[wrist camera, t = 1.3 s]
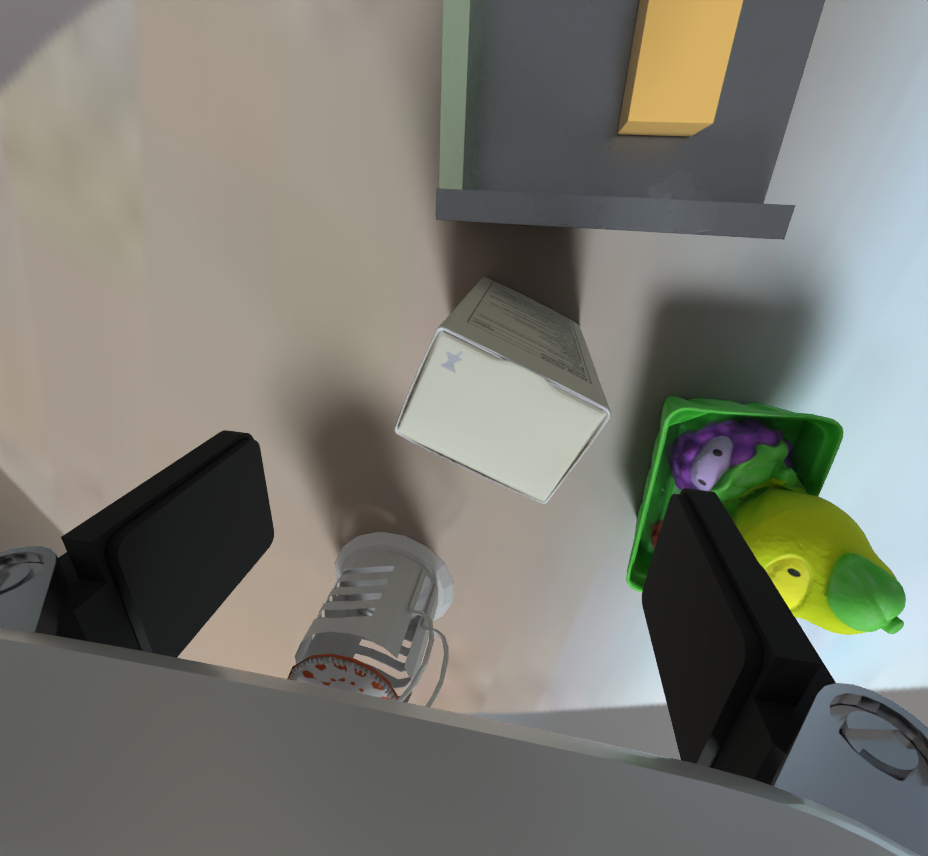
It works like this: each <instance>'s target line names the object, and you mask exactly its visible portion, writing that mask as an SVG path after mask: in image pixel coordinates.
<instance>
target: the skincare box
mask: <svg viewBox="0 0 928 856" xmlns="http://www.w3.org/2000/svg"><path fill="white" fill-rule="evenodd" d="M610 417H611V412H610V409H609V406H608V403H607V401H606V398H605V395H604V393H603V390H602V387H601V384H600V381H599V379H598V376H597V373H596V370H595V367H594V365H593V362H592V359H591V356H590V354H589V351H588V348H587V345H586V343H585V340H584V337H583V335H582V332H581V329H580V326H579V325H578V324H577V323H575V322H574V321H572V320H570V319H568V318H567V317H565V316H563V315H561V314H559V313H557V312H556V311H554V310H552V309H550V308H548V307H546V306H544V305H542V304H540V303H538V302H536V301H534V300H532V299H530V298H528V297H526V296H524V295H522V294H520V293H518V292H516V291H514V290H512V289H510V288H508V287H506V286H504V285H502V284H499V283H497V282H495V281H493V280H491V279H489V278H486V277H482V278H481V279H480V280H479V282H478V283H477V284H476V285H475V286H474V287H473V289H472V290H471V291H470V292H469V293H468V294H467V295H466V296H465V298H464V299H463V300H462V301H461V302H460V303H459V305H458V306H457V307H456V308H455V309H454V310H453V311H452V313H451V314H450V315H449V316H448V317H447V318H446V320H445V321H444V322H443V323H442V324H441V325H440V326H439V327H438V329H437V331H436V333H435V335H434V337H433V339H432V341H431V344H430V346H429V348H428V350H427V352H426V354H425V356H424V358H423V361H422V363H421V365H420V368H419V370H418V372H417V374H416V376H415V379H414V381H413V383H412V385H411V388H410V390H409V392H408V395H407V397H406V400H405V402H404V405H403V407H402V410H401V412H400V415H399V418H398V421H397V423H396V425H395V432H396V433H397V434H398V435H400V436H402V437H404V438H406V439H407V440H409V441H410V442H412V443H414V444H416V445H418V446H420V447H422V448H424V449H426V450H428V451H430V452H432V453H434V454H436V455H438V456H439V457H441V458H444V459H446V460H448V461H450V462H452V463H454V464H456V465H459V466H460V467H462V468H464V469H467V470H469V471H471V472H473V473H475V474H477V475H479V476H482V477H484V478H486V479H488V480H490V481H492V482H495V483H497V484H499V485H501V486H503V487H505V488H508V489H510V490H512V491H515V492H517V493H519V494H521V495H524V496H526V497H528V498H531V499H533V500H535V501H537V502H539V503H542V504H545V503H547V502H548V501H549V500H550V498H551V497H552V495H553V494H554V493H555V491H556V490H557V489H558V488H559V486H560V485H561V484H562V483H563V481H564V480H565V479H566V477H567V476H568V475H569V474H570V472H571V471H572V470H573V469H574V467H575V466H576V464H577V463H578V462H579V460H580V459H581V457H582V456H583V455H584V453H585V452H586V451H587V450H588V448H589V447H590V446H591V444H592V443H593V441H594V440H595V439H596V437H597V436H598V434H599V433H600V432H601V430H602V429H603V427H604V426H605V425H606V423H607V422H608V420H609V419H610Z"/></svg>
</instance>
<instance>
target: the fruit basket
mask: <svg viewBox="0 0 928 856" xmlns="http://www.w3.org/2000/svg"><path fill="white" fill-rule="evenodd" d="M842 438H843V428H842V426H841V425H840V424H839V423H838V422H836V421H835V420H833V419H831V418H826V417H822V416H818V415H813V414H805V413H795V412H791V411H787V410H783V409H780V408H776V407H772V406H769V405H765V404H761V403H748V404H743V405H742V404H740V403H737V402H734V401H728V400H716V399H704V398H695V399H689V400H685V399H682V398H680V397H677V396H669V397H667V398H666V399H665V402H664V406H663V410H662V414H661V419H660V431H659V433H658V434H657V437H656V440H655V444H654V449H653V453H652V462H651V468H650V470H649V472H648V475H647V479H646V484H645V488H644V494H643V502H642V504H641V505H640V509H639V513H638V517H637V523H636V531H635V539H634V543H633V547H632V551H631V556H630V560H629V565H628V570H627V577H626V580H627V583H628V585H629V586H630V587H631V588H632V589H634V590H636V591H639V592H642V591H643V586H644V583H645V580H646V576H647V573H648V570H649V566H650V563H651V560H652V556H653V553H654V550H655V546H656V543H657V540H658V536H659V533H660V530H661V526H662V523H663V520H664V516H665V513H666V510H667V506H668V503H669V500H670V497H671V496H672V494H680V492H681V491H682V489H684V488H688V489H696V490H704V491H712V492H715V493H716V494H717V496H718V497H719V499H720V501H721V502H722V504H723V505H724V507H725V509H726V510H727V512H728V514H729V515H730V517H731V518H732V520H733V522H734V523H735V525H736V526H737V528H738V530H739V531H740V533H741V535H742V536H743V538H744V539H745V541H746V543H747V544H748V546H749V547H750V549H751V551H752V552H753V554H754V556H755V557H756V559H757V560H758V562H759V563H760V564H761V565H762V567H763V568H764V569H765V570H766V572H767V574H768V575H769V577H770V578H771V580H772V582H773V583H774V585H775V586H776V588H777V590H778V591H779V593H780V594H781V596H782V598H783V599H784V601H785V602H786V604H787V606H788V607H789V609H790V610H791V612H792V614H793V615H794V617H797V618H802V619H805V620H807V621H809V622H811V623H813V624H815V625H817V626H819V627H821V628H823V629H826V630H828V631H831V632H834V633H838V634H846V635H851V634H860V633H865V632H872V631H876V630H878V629H880V628H881V629H883V630H884V631H886V632H887V633H890V634H894V633H897V632H898V631H899V630H900V629H902V627H903V625H904V622H903V621H902V620H901V619H899V618H898V617H897V616H898V615H899V614H900V613H901V612H902V611H903V609H904V607H905V601H906V598H905V593H904V590H903V587H902V586H901V584H900V583H899V582H898V581H897V579H896V577H895V576H894V574H893V573H892V571H891V570H890V569H889V568H888V567H887V566H886V565H885V564H884V563H883V562H882V560H881V559H880V558H879V557H878V556H877V555H876V554H875V552H874V551H873V549H872V547H871V546H870V544H869V542H868V540H867V538H866V536H865V534H864V532H863V531H862V530H861V528H860V527H859V526H858V525H857V523H856V522H855V521H854V520H853V519H852V518H851V517H850V516H849V515H848V514H847V513H845V512H844V511H843V510H841V509H840V508H838V507H837V506H835V505H834V504H832V503H831V502H829V501H827V500H825V499H823V498H821V497H818V496H819V493H820V491H821V489H822V487H823V484H824V481H825V479H826V477H827V475H828V473H829V470H830V468H831V465H832V463H833V461H834V458H835V456H836V453H837V451H838V449H839V446H840V443H841V441H842Z"/></svg>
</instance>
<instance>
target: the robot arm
mask: <svg viewBox="0 0 928 856" xmlns="http://www.w3.org/2000/svg"><path fill="white" fill-rule="evenodd" d="M61 538H62V541H63V543H64V545H65V548H66V550H67V552H66V553H65V554H64V555H62V556H60V557H59V558H58V557H57V555H56V553H55V552H54V551H52V550H51V549H50V548H46V547H42V546H26V547H20V548H14V549H9V550H6V551H3V552H0V856H928V727H926V726H925V725H924V724H923V723H922V722H921V721H920V720H918V718H916V717H915V716H914V715H913V714H911V713H910V712H908V711H907V710H905V709H904V708H902V707H901V706H899V705H898V704H897V703H895V702H893V701H892V700H890V699H888V698H886V697H883V696H882V695H880V694H878V693H876V692H874V691H871V690H868V689H865V688H862V687H859V686H856V685H852V684H842V683H835V681H834V679H833V678H832V676H831V675H830V673H829V671H828V670H827V668H826V666H825V665H824V663H823V662H822V660H821V658H820V657H819V655H818V654H817V652H816V650H815V649H814V647H813V646H812V644H811V642H810V641H809V639H808V638H807V636H806V634H805V633H804V631H803V630H802V628H801V626H800V625H799V623H798V622H797V620H796V618H795V617H794V615H793V614H792V612H791V610H790V609H789V607H788V606H787V604H786V602H785V601H784V599H783V598H782V596H781V594H780V593H779V591H778V590H777V588H776V586H775V585H774V583H773V582H772V580H771V578H770V577H769V575H768V574H767V572H766V570H765V569H764V568H763V567H762V565H761V564H760V563H759V562H758V560H757V559H756V557H755V556H754V554H753V552H752V551H751V549H750V547H749V546H748V544H747V543H746V541H745V539H744V538H743V536H742V535H741V533H740V531H739V530H738V528H737V526H736V525H735V523H734V522H733V520H732V518H731V517H730V515H729V514H728V512H727V510H726V509H725V507H724V505H723V504H722V502H721V501H720V499H719V497H718V496H717V494H716V493H715V492H712V491H704V490H696V489H688V488H684V489H682V491H681V492H680V494H672V496H671V497H670V500H669V503H668V506H667V510H666V513H665V516H664V520H663V523H662V526H661V530H660V533H659V536H658V540H657V543H656V546H655V550H654V553H653V556H652V560H651V563H650V566H649V570H648V573H647V576H646V580H645V583H644V586H643V591H642V605H643V610H644V614H645V618H646V622H647V626H648V630H649V634H650V638H651V642H652V646H653V650H654V654H655V658H656V662H657V666H658V670H659V674H660V678H661V682H662V686H663V689H664V693H665V697H666V701H667V705H668V709H669V713H670V717H671V721H672V725H673V729H674V733H675V737H676V741H677V745H678V749H679V753H680V757H681V760H677V759H673V758H667V757H663V756H659V755H654V754H650V753H645V752H640V751H636V750H632V749H627V748H623V747H618V746H613V745H609V744H605V743H600V742H595V741H591V740H587V739H582V738H577V737H572V736H567V735H563V734H558V733H552V732H548V731H543V730H538V729H533V728H528V727H523V726H518V725H514V724H508V723H504V722H498V721H494V720H489V719H484V718H479V717H474V716H469V715H465V714H460V713H455V712H450V711H445V710H440V709H435V708H430V707H425V706H420V705H415V704H410V703H405V702H400V701H395V700H390V699H385V698H380V697H375V696H370V695H365V694H360V693H355V692H350V691H345V690H340V689H335V688H330V687H325V686H319V685H314V684H309V683H304V682H299V681H294V680H289V679H284V678H279V677H274V676H269V675H264V674H258V673H253V672H248V671H243V670H238V669H233V668H227V667H222V666H217V665H212V664H206V663H201V662H196V661H191V660H186V659H180V658H177V657H178V656H179V655H180V653H181V652H182V651H183V650H184V649H185V647H186V646H187V645H188V644H189V643H190V641H191V640H192V639H193V638H194V637H195V635H196V634H197V633H198V632H199V631H200V629H201V628H202V627H203V626H204V625H205V623H206V622H207V621H208V620H209V619H210V617H211V616H212V615H213V614H214V613H215V612H216V610H217V609H218V608H219V607H220V606H221V604H222V603H223V602H224V601H225V600H226V598H227V597H228V596H229V595H230V594H231V592H232V591H233V590H234V589H235V588H236V586H237V585H238V584H239V583H240V582H241V580H242V579H243V578H244V577H245V576H246V574H247V573H248V572H249V571H250V570H251V569H252V567H253V566H254V565H255V564H256V563H257V561H258V560H259V559H260V558H261V557H262V555H263V554H264V553H265V552H266V551H267V549H268V548H269V547H270V545H271V543H272V541H273V538H274V528H273V522H272V516H271V510H270V504H269V499H268V493H267V487H266V481H265V475H264V469H263V463H262V457H261V451H260V446H259V443H258V442H257V441H256V440H254V439H253V437H252V436H251V435H250V434H249V433H242V432H234V431H222V432H220V433H218V434H217V435H215V436H214V437H212V438H210V439H209V440H207V441H206V442H204V443H203V444H201V445H200V446H198V447H197V448H195V449H194V450H192V451H191V452H189V453H188V454H186V455H185V456H183V457H182V458H180V459H179V460H177V461H176V462H174V463H173V464H171V465H170V466H168V467H167V468H165V469H164V470H162V471H160V472H159V473H157V474H156V475H154V476H153V477H151V478H150V479H148V480H147V481H145V482H144V483H142V484H141V485H139V486H138V487H136V488H135V489H133V490H132V491H130V492H129V493H127V494H126V495H124V496H123V497H121V498H120V499H118V500H117V501H115V502H114V503H112V504H110V505H109V506H107V507H106V508H104V509H103V510H101V511H100V512H98V513H97V514H95V515H94V516H92V517H91V518H89V519H88V520H86V521H85V522H83V523H82V524H80V525H79V526H77V527H76V528H74V529H73V530H71V531H70V532H68V533H67V534H65V535H64V536H62V537H61Z"/></svg>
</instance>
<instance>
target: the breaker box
mask: <svg viewBox="0 0 928 856" xmlns="http://www.w3.org/2000/svg"><path fill="white" fill-rule="evenodd" d="M639 2H640V0H443V26H442V72H441V118H440V164H439V188H437V197H436V220H452V221H470V222H487V223H505V224H522V225H539V226H557V227H574V228H592V229H609V230H627V231H644V232H662V233H679V234H697V235H714V236H731V237H749V238H766V239H784V238H785V235H786V232H787V229H788V226H789V223H790V220H791V217H792V214H793V211H794V208H795V205H777V204H763V203H764V200H765V196H766V193H767V190H768V186H769V183H770V180H771V177H772V173H773V170H774V167H775V163H776V160H777V157H778V154H779V150H780V147H781V144H782V140H783V137H784V134H785V131H786V127H787V124H788V121H789V117H790V114H791V111H792V108H793V104H794V101H795V98H796V94H797V91H798V88H799V85H800V81H801V78H802V75H803V71H804V68H805V65H806V62H807V58H808V55H809V52H810V48H811V45H812V42H813V39H814V35H815V32H816V29H817V25H818V22H819V19H820V16H821V12H822V9H823V6H824V2H825V0H743V3H742V7H741V11H740V15H739V19H738V24H737V28H736V32H735V36H734V40H733V44H732V48H731V52H730V56H729V61H728V65H727V69H726V73H725V77H724V81H723V85H722V89H721V93H720V97H719V102H718V106H717V110H716V114H715V118H714V122H713V124H711V125H709V126H708V127H706V128H704V129H702V130H701V131H699V132H697V133H696V134H694V135H692V136H656V135H622V134H618V128H619V122H620V116H621V110H622V104H623V98H624V92H625V86H626V80H627V74H628V68H629V62H630V56H631V50H632V44H633V38H634V32H635V26H636V20H637V14H638V8H639Z"/></svg>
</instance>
